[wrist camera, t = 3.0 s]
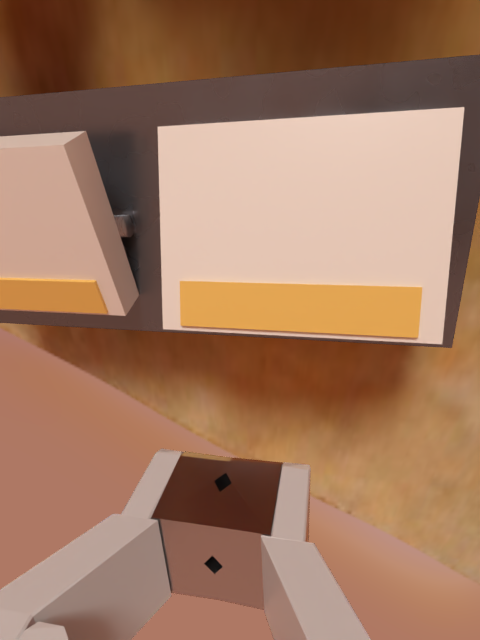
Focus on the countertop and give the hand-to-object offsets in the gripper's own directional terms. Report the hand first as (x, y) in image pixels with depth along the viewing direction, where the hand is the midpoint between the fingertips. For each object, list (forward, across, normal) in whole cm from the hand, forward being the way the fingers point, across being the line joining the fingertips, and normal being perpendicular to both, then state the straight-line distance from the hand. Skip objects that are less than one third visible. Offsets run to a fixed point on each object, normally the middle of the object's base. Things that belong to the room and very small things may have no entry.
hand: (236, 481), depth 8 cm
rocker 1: (+9, +12, -3) cm, 15 cm away
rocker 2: (+8, 0, -3) cm, 9 cm away
